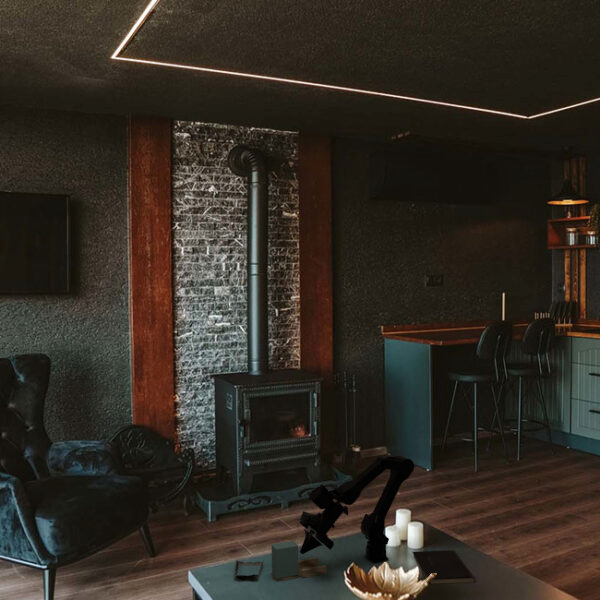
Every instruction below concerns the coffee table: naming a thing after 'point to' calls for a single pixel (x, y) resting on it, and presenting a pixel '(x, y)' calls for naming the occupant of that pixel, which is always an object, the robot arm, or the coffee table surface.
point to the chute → (307, 569)
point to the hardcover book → (443, 566)
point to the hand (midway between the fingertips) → (300, 553)
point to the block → (285, 559)
